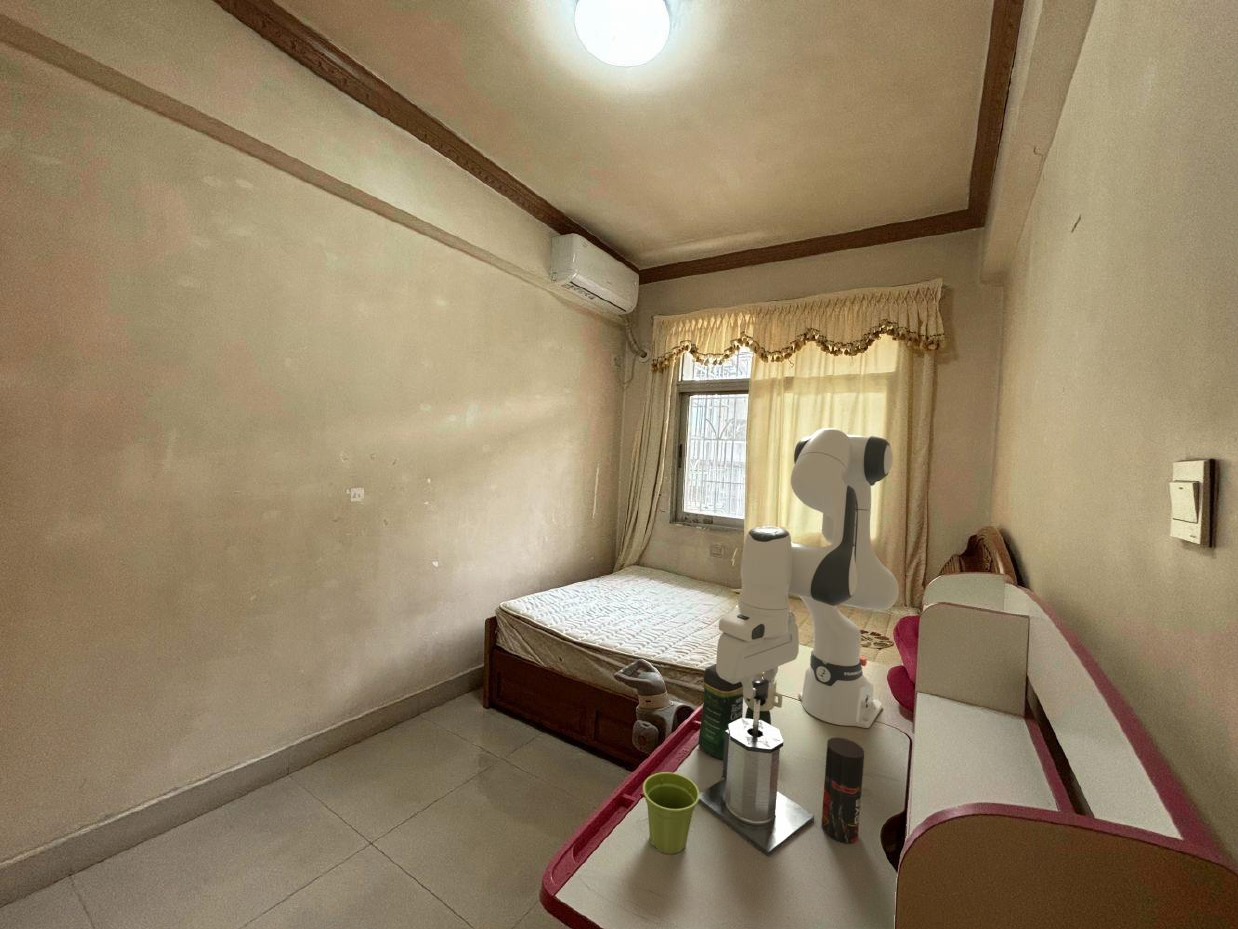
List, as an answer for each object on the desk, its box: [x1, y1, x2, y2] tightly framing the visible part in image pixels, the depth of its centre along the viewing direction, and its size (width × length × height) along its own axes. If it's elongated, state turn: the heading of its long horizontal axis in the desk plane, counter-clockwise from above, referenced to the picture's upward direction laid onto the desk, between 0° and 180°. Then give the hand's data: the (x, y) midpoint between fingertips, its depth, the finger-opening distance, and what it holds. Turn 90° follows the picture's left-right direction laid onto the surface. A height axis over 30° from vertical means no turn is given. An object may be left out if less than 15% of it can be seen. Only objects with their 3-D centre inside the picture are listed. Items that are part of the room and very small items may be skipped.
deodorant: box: [821, 737, 865, 845], centre depth 88 cm, size 6×6×15 cm
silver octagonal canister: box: [697, 717, 815, 857], centre depth 92 cm, size 14×16×15 cm
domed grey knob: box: [752, 677, 769, 737], centre depth 91 cm, size 4×4×14 cm
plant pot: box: [642, 771, 700, 855], centre depth 84 cm, size 9×9×9 cm
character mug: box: [743, 672, 783, 726], centre depth 118 cm, size 11×7×13 cm, turn 48°
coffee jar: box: [698, 664, 744, 760], centre depth 111 cm, size 10×8×19 cm
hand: (757, 693), depth 91 cm, fingers closed on domed grey knob, 4 cm apart
